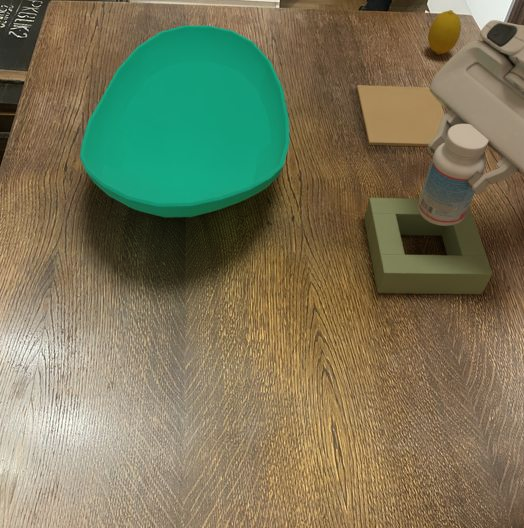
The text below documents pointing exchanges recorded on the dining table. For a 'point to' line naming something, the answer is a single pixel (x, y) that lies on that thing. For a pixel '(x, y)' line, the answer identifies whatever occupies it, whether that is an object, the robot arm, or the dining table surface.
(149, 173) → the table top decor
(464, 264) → the stand
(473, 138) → the pill bottle
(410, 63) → the dining table surface
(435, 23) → the lemon
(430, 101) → the mat
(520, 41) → the robot arm
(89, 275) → the dining table surface
